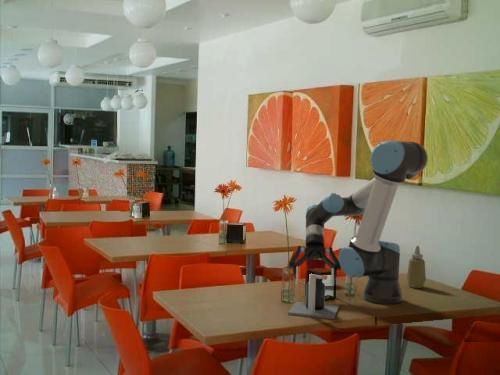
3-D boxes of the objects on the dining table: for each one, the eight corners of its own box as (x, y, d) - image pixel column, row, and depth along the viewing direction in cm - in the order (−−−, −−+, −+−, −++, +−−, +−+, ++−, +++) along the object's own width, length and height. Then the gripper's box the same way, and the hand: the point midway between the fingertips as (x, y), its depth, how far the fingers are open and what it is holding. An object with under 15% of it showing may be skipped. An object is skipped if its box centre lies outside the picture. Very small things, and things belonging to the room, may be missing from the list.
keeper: (338, 307, 222) (340, 268, 221) (333, 319, 206) (335, 276, 205) (296, 303, 226) (297, 265, 225) (288, 314, 210) (289, 273, 209)
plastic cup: (329, 285, 260) (330, 257, 260) (304, 284, 260) (305, 257, 260) (326, 280, 271) (327, 253, 270) (302, 279, 271) (303, 252, 271)
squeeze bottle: (405, 288, 259) (407, 246, 258) (406, 284, 267) (408, 244, 266) (425, 289, 257) (427, 248, 256) (425, 286, 264) (427, 245, 263)
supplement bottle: (320, 305, 222) (321, 273, 221) (327, 309, 215) (328, 276, 215) (302, 305, 220) (303, 273, 219) (309, 310, 213) (310, 277, 213)
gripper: (345, 245, 244) (347, 290, 230) (284, 243, 246) (282, 287, 232) (346, 234, 238) (348, 279, 224) (284, 231, 240) (282, 276, 226)
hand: (314, 283), depth 228 cm, fingers open, 13 cm apart
